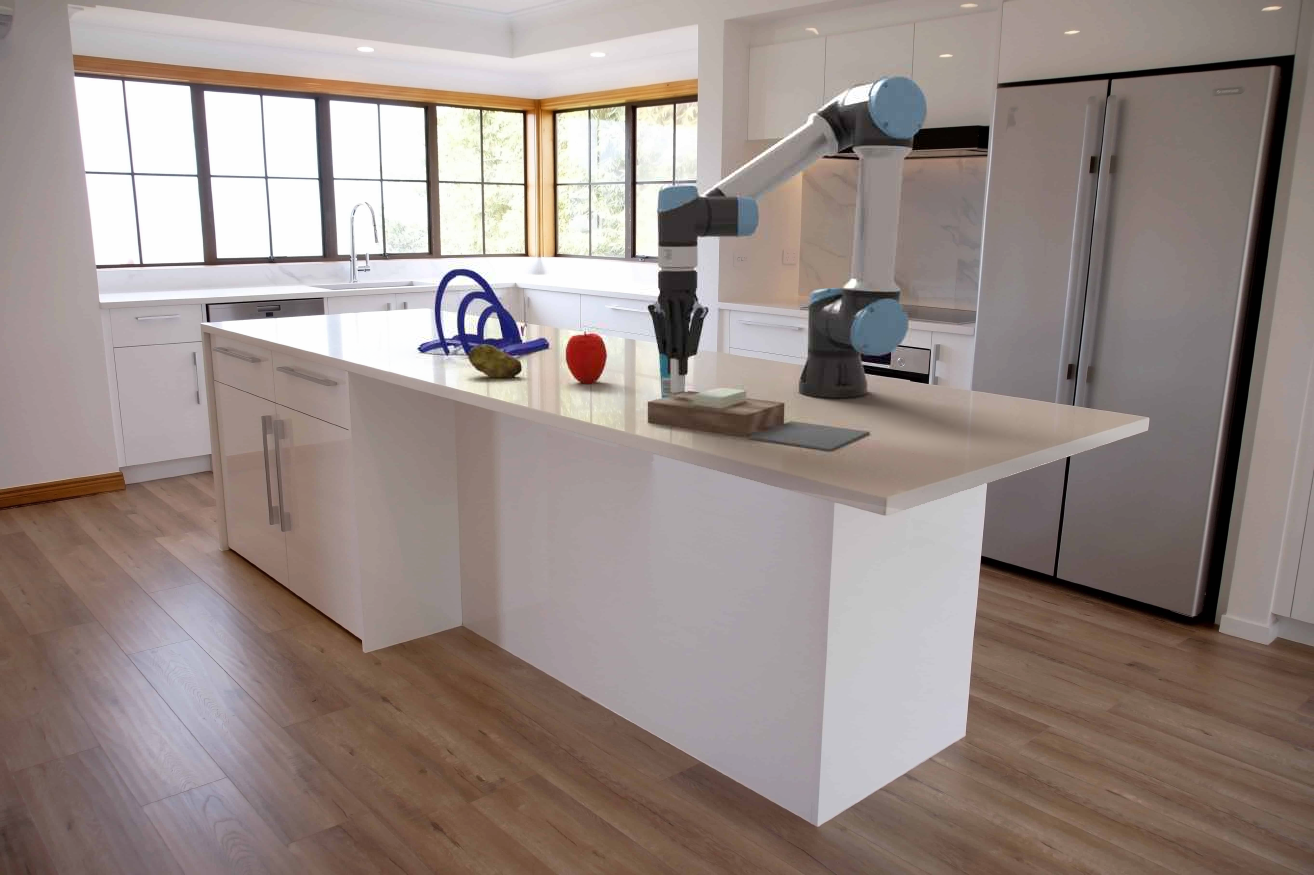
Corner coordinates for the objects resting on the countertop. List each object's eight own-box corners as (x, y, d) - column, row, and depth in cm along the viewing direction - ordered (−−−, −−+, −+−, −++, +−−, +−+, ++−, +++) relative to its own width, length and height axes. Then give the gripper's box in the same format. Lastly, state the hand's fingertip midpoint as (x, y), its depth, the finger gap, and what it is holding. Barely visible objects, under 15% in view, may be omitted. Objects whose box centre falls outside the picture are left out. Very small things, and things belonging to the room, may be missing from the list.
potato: (504, 381, 231) (502, 348, 229) (464, 377, 238) (462, 344, 236) (526, 376, 238) (524, 344, 236) (486, 372, 245) (485, 341, 243)
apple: (584, 377, 236) (583, 327, 234) (616, 381, 231) (615, 330, 228) (557, 383, 228) (556, 331, 226) (589, 387, 223) (588, 334, 220)
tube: (689, 398, 209) (689, 309, 205) (690, 402, 204) (690, 311, 200) (655, 398, 209) (655, 309, 205) (655, 402, 204) (654, 311, 200)
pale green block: (719, 397, 188) (719, 387, 188) (746, 400, 185) (746, 390, 184) (693, 404, 181) (693, 394, 180) (720, 408, 177) (720, 397, 177)
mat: (791, 423, 184) (791, 421, 183) (869, 433, 174) (869, 431, 174) (747, 438, 171) (747, 436, 171) (829, 451, 162) (829, 448, 162)
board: (688, 410, 196) (688, 390, 195) (784, 423, 183) (784, 402, 182) (647, 422, 185) (647, 401, 184) (746, 436, 172) (746, 415, 171)
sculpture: (505, 360, 261) (495, 264, 257) (401, 365, 274) (389, 274, 270) (564, 347, 293) (555, 261, 289) (468, 352, 306) (458, 270, 302)
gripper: (638, 269, 184) (639, 390, 189) (695, 271, 176) (694, 397, 181) (661, 267, 190) (662, 385, 195) (717, 269, 182) (716, 391, 187)
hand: (677, 391), depth 188 cm, fingers closed
